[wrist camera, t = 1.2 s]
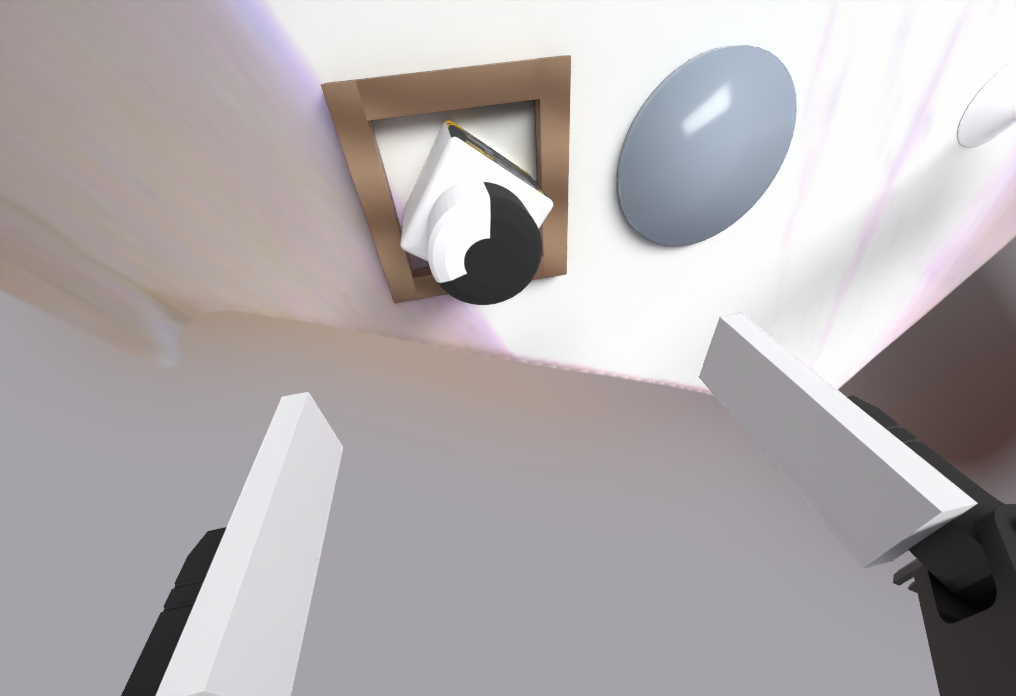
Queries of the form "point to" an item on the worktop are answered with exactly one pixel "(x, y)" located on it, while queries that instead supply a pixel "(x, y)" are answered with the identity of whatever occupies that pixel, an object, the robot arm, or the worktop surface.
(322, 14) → the worktop surface
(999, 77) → the champagne flute
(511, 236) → the medicine bottle
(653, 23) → the worktop surface
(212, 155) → the worktop surface
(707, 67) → the slate plate
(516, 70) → the wooden picture frame
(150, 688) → the robot arm
